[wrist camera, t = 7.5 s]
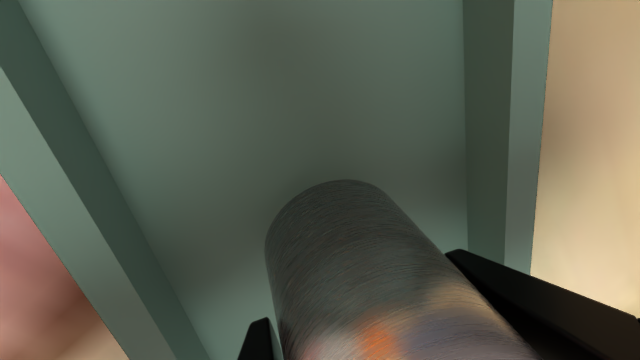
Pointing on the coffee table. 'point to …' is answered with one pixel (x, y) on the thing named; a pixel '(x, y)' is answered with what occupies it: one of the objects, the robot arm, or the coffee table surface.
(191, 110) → the tray
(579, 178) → the coffee table surface
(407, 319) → the grey flanged cylinder
